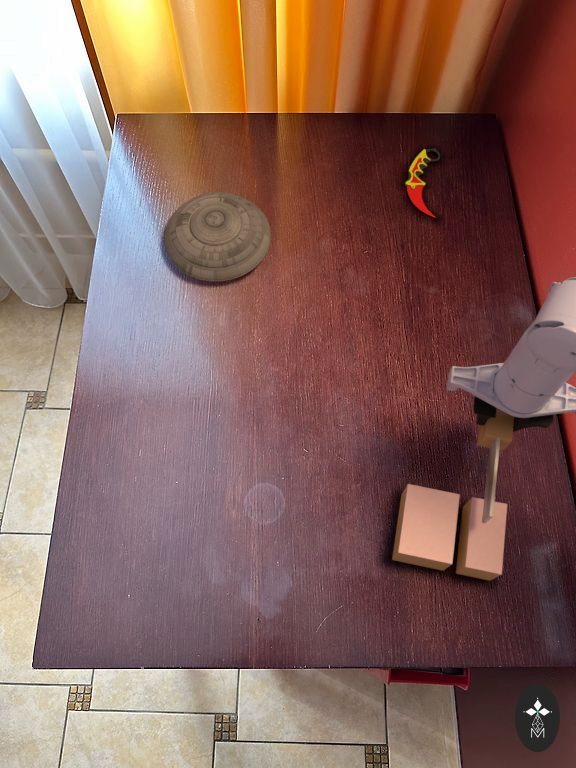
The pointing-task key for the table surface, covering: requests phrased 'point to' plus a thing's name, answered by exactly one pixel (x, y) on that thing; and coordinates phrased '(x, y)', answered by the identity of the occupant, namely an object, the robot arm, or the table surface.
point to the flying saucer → (217, 236)
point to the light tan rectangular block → (481, 541)
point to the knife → (415, 183)
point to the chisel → (494, 453)
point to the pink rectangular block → (426, 527)
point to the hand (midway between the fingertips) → (496, 420)
